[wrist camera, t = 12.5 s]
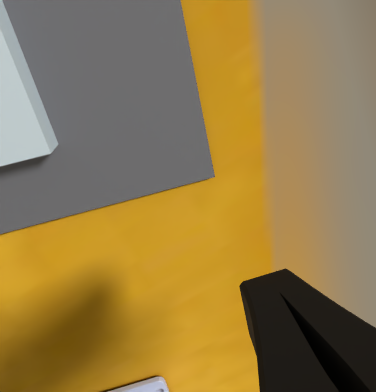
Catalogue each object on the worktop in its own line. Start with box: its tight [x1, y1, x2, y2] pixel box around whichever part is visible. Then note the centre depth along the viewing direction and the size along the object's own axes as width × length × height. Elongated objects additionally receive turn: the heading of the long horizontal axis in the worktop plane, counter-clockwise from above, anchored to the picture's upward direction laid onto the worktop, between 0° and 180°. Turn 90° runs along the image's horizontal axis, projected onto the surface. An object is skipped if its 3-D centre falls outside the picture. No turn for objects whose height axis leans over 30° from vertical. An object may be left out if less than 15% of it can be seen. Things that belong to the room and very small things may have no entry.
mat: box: [0, 0, 215, 234], centre depth 14 cm, size 14×12×1 cm
